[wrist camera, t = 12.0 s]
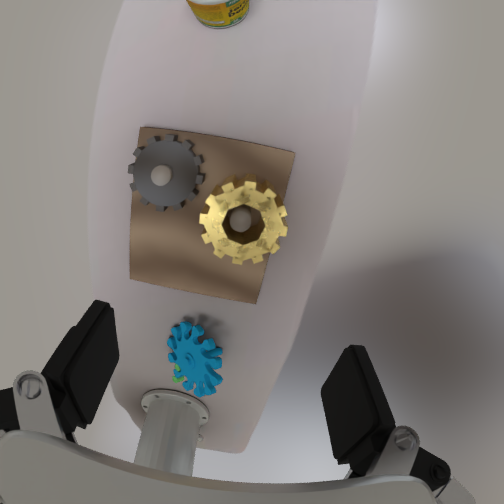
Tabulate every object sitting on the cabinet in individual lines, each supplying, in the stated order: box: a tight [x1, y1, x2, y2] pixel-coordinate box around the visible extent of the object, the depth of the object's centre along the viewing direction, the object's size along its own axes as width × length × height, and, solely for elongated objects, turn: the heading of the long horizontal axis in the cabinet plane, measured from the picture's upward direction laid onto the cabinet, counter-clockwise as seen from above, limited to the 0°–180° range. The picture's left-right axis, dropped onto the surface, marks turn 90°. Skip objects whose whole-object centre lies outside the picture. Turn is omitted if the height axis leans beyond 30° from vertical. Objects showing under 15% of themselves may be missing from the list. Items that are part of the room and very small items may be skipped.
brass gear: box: [199, 173, 288, 265], centre depth 25 cm, size 7×7×4 cm
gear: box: [167, 321, 223, 397], centre depth 34 cm, size 11×6×10 cm
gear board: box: [128, 127, 295, 304], centre depth 26 cm, size 17×15×5 cm
